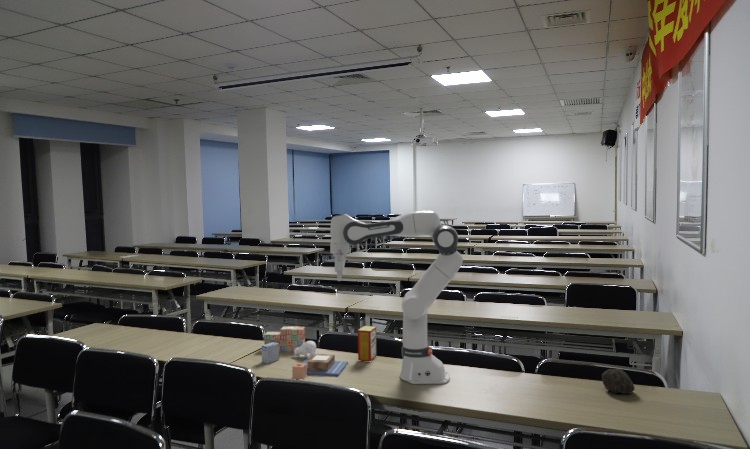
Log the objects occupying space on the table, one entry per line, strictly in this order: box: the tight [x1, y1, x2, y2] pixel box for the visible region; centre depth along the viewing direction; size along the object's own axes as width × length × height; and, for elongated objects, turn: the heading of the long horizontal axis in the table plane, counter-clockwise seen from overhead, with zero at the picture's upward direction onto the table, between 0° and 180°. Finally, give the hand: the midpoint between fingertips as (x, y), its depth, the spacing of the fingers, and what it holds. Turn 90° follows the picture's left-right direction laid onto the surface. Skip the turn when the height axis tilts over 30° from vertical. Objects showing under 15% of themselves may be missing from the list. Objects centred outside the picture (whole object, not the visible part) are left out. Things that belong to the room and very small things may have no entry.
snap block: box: [291, 362, 308, 381], centre depth 220 cm, size 5×5×6 cm
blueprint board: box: [302, 353, 349, 377], centre depth 233 cm, size 22×18×5 cm
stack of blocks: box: [263, 325, 306, 352], centre depth 265 cm, size 21×6×12 cm, turn 86°
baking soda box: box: [357, 325, 378, 362], centre depth 247 cm, size 10×6×16 cm
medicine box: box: [261, 342, 280, 365], centre depth 245 cm, size 8×4×9 cm, turn 144°
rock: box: [601, 368, 635, 395], centre depth 198 cm, size 10×11×10 cm
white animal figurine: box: [293, 340, 317, 360], centre depth 251 cm, size 6×8×12 cm
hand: (339, 279), depth 223 cm, fingers open, 8 cm apart
